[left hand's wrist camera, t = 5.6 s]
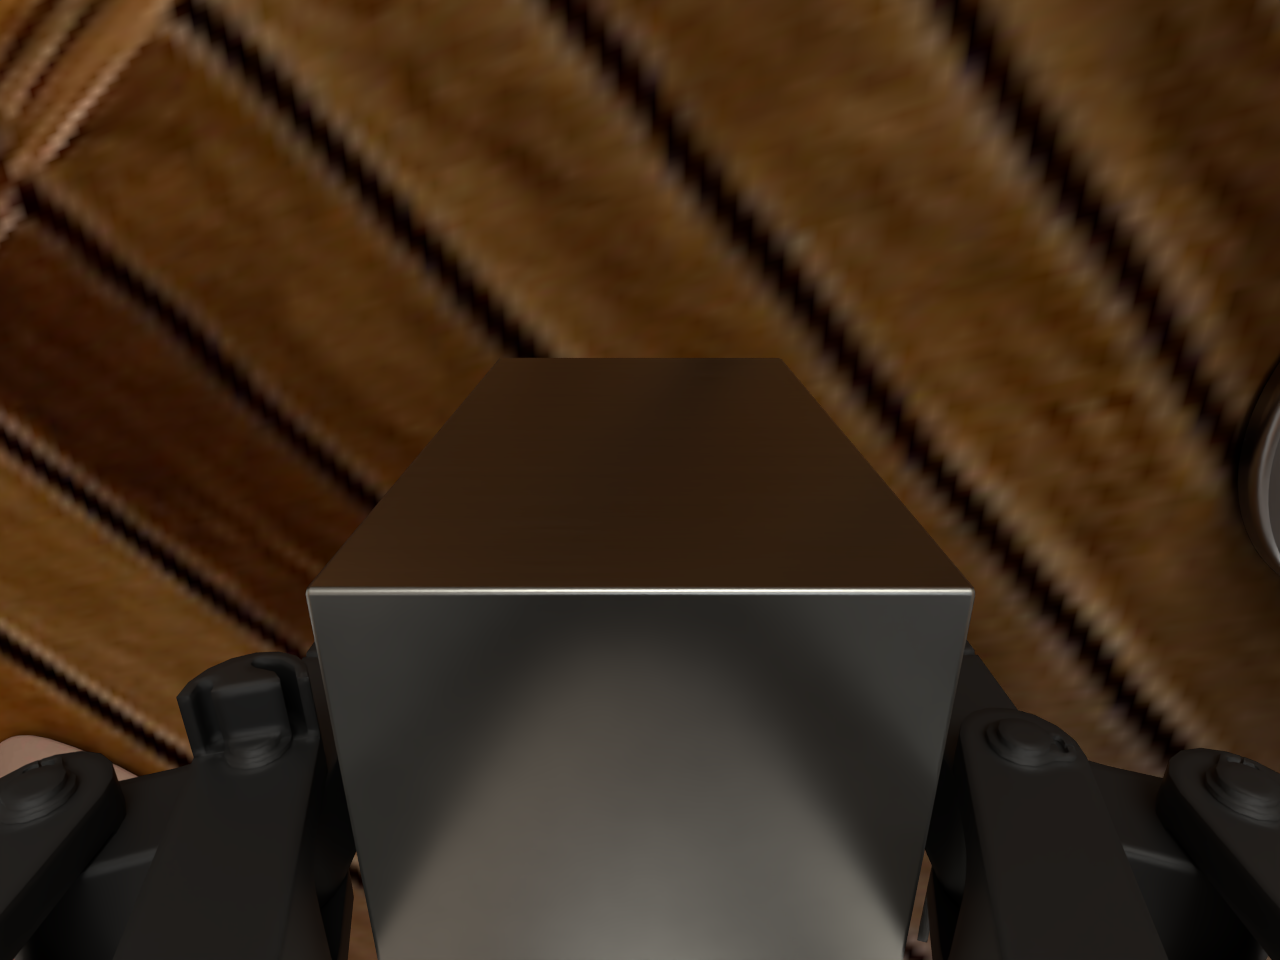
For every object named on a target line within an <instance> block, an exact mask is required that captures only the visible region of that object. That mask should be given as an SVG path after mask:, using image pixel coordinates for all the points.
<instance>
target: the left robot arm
mask: <svg viewBox="0 0 1280 960" xmlns="http://www.w3.org/2000/svg"><path fill="white" fill-rule="evenodd" d="M1238 500H1239V506H1240V511H1241V516H1242V519H1243V523H1244V526H1245V529H1246V532H1247V534H1248V536H1249V538H1250V540H1251V542H1252V544H1253V546H1254V547H1255V549H1256V550H1257V552H1258V553H1259V555H1260V556H1261V558H1262V559H1263V560H1264V561H1265V562H1266V563H1267V564H1268V566H1269V567H1270V568H1271V569H1272V570H1273V571H1275V572H1276V573H1277V574H1278V575H1279V576H1280V363H1279V364H1278V366H1277V367H1276V368H1275V370H1274V372H1273V374H1272V375H1271V377H1270V379H1269V380H1268V382H1267V384H1266V386H1265V387H1264V389H1263V391H1262V393H1261V395H1260V397H1259V400H1258V402H1257V404H1256V406H1255V408H1254V410H1253V413H1252V416H1251V418H1250V421H1249V424H1248V426H1247V430H1246V433H1245V437H1244V440H1243V444H1242V448H1241V454H1240V460H1239V468H1238ZM176 698H177V701H178V705H179V708H180V712H181V715H182V718H183V722H184V725H185V729H186V732H187V736H188V739H189V742H190V746H191V749H192V753H193V756H194V759H193V761H192V764H189V765H185V766H182V767H179V768H175V769H171V770H166V771H162V772H157V773H153V774H148V775H144V776H139V777H135V778H130V779H126V780H121V781H118V778H117V775H116V772H115V769H114V766H113V763H112V762H111V761H110V760H108V759H107V758H106V757H105V756H103V755H102V754H100V753H93V752H85V751H77V752H70V753H63V754H56V755H53V756H50V757H46V758H43V759H41V760H37V761H34V762H31V763H29V764H26V765H24V766H22V767H20V768H18V769H17V770H15V771H13V772H11V773H9V774H7V775H5V776H3V777H1V778H0V960H13V959H15V960H348V950H349V940H350V930H351V919H352V909H353V899H354V896H353V889H352V883H351V877H350V873H349V867H350V865H351V862H352V860H353V858H354V855H355V853H356V846H355V841H354V836H353V831H352V826H351V821H350V816H349V811H348V806H347V801H346V795H345V790H344V785H343V780H342V775H341V770H340V765H339V760H338V755H337V750H336V745H335V740H334V735H333V730H332V725H331V720H330V714H329V709H328V704H327V699H326V694H325V689H324V684H323V679H322V674H321V669H320V664H319V659H318V654H317V649H316V644H315V642H314V643H313V645H312V646H311V648H310V649H309V650H308V652H307V656H306V657H303V659H302V660H301V659H300V658H298V657H297V656H295V655H291V654H287V653H282V652H260V653H253V654H248V655H244V656H240V657H236V658H232V659H229V660H227V661H225V662H222V663H220V664H218V665H216V666H213V667H211V668H209V669H207V670H205V671H204V672H203V673H201V674H200V675H198V676H197V677H195V678H194V679H193V680H191V681H190V682H188V683H187V685H186V686H185V687H184V688H183V690H182V691H181V692H180V693H179V695H178V696H177V697H176ZM925 850H926V853H927V855H928V857H929V860H930V862H931V864H932V868H931V873H930V877H929V882H928V887H927V892H926V897H925V902H924V907H923V911H922V916H921V921H920V927H919V933H918V939H917V940H919V941H923V942H927V940H928V935H929V931H930V938H931V948H932V959H933V960H1266V959H1267V956H1269V957H1270V958H1271V959H1272V960H1280V774H1279V773H1277V772H1275V771H1273V770H1271V769H1269V768H1267V767H1265V766H1263V765H1262V764H1260V763H1258V762H1256V761H1253V760H1251V759H1248V758H1245V757H1241V756H1239V755H1235V754H1232V753H1229V752H1225V751H1218V750H1211V749H1204V748H1197V749H1189V750H1182V751H1180V752H1178V753H1177V754H1176V755H1175V756H1173V757H1172V758H1171V759H1170V760H1169V763H1168V765H1167V768H1166V771H1165V774H1164V777H1163V778H1160V777H1155V776H1151V775H1146V774H1141V773H1137V772H1132V771H1128V770H1123V769H1119V768H1114V767H1110V766H1106V765H1102V764H1099V763H1095V762H1092V761H1088V760H1087V757H1086V756H1085V754H1084V753H1083V751H1082V750H1081V748H1080V747H1079V745H1078V744H1077V742H1076V741H1075V740H1074V739H1073V738H1071V737H1070V736H1069V735H1068V734H1066V733H1065V732H1064V731H1063V730H1061V729H1060V728H1059V727H1058V726H1056V725H1054V724H1052V723H1050V722H1048V721H1046V720H1044V719H1042V718H1040V717H1038V716H1036V715H1033V714H1029V713H1026V712H1022V711H1018V710H1017V708H1016V707H1015V706H1014V704H1013V703H1012V701H1011V700H1010V699H1009V697H1008V696H1007V695H1006V693H1005V692H1004V690H1003V689H1002V688H1001V686H1000V685H999V684H998V682H997V681H996V679H995V678H994V677H993V675H992V674H991V673H990V671H989V670H988V668H987V667H986V666H985V664H984V663H983V662H982V660H981V659H980V657H979V656H978V655H975V653H974V649H973V648H972V646H971V645H970V644H969V642H968V641H967V640H966V643H965V648H964V653H963V658H962V663H961V668H960V673H959V678H958V684H957V689H956V694H955V699H954V704H953V709H952V714H951V719H950V724H949V729H948V734H947V739H946V744H945V749H944V754H943V759H942V764H941V769H940V774H939V779H938V784H937V789H936V795H935V800H934V805H933V810H932V815H931V820H930V825H929V830H928V835H927V840H926V845H925Z"/></svg>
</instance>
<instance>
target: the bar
mask: <svg viewBox="0 0 1280 960" xmlns="http://www.w3.org/2000/svg"><path fill="white" fill-rule="evenodd" d="M306 598H307V603H308V608H309V613H310V618H311V623H312V628H313V633H314V638H315V644H316V649H317V654H318V659H319V664H320V669H321V674H322V679H323V684H324V689H325V694H326V699H327V704H328V709H329V714H330V720H331V725H332V730H333V735H334V740H335V745H336V750H337V755H338V760H339V765H340V770H341V775H342V780H343V785H344V790H345V795H346V801H347V806H348V811H349V816H350V821H351V826H352V831H353V836H354V841H355V846H356V851H357V856H358V861H359V866H360V871H361V876H362V882H363V887H364V892H365V897H366V902H367V907H368V912H369V917H370V922H371V927H372V932H373V937H374V942H375V947H376V952H377V958H378V960H903V956H904V951H905V946H906V941H907V936H908V931H909V926H910V921H911V916H912V911H913V906H914V900H915V895H916V890H917V885H918V880H919V875H920V870H921V865H922V860H923V855H924V850H925V845H926V840H927V835H928V830H929V825H930V820H931V815H932V810H933V805H934V800H935V795H936V789H937V784H938V779H939V774H940V769H941V764H942V759H943V754H944V749H945V744H946V739H947V734H948V729H949V724H950V719H951V714H952V709H953V704H954V699H955V694H956V689H957V684H958V678H959V673H960V668H961V663H962V658H963V653H964V648H965V643H966V638H967V633H968V628H969V623H970V618H971V613H972V608H973V603H974V598H975V591H974V587H973V586H972V585H971V584H970V583H969V581H968V580H967V579H966V578H965V577H964V576H963V574H962V573H961V572H960V571H959V570H958V568H957V567H956V566H955V565H954V564H953V562H952V561H951V560H950V559H949V558H948V557H947V555H946V554H945V553H944V552H943V551H942V549H941V548H940V547H939V546H938V545H937V544H936V542H935V541H934V540H933V539H932V538H931V536H930V535H929V534H928V533H927V532H926V530H925V529H924V528H923V527H922V526H921V525H920V523H919V522H918V521H917V520H916V519H915V517H914V516H913V515H912V514H911V513H910V511H909V510H908V509H907V508H906V507H905V506H904V504H903V503H902V502H901V501H900V500H899V498H898V497H897V496H896V495H895V494H894V492H893V491H892V490H891V489H890V488H889V487H888V485H887V484H886V483H885V482H884V481H883V479H882V478H881V477H880V476H879V475H878V473H877V472H876V471H875V470H874V469H873V468H872V466H871V465H870V464H869V463H868V462H867V460H866V459H865V458H864V457H863V456H862V454H861V453H860V452H859V451H858V450H857V449H856V447H855V446H854V445H853V444H852V443H851V441H850V440H849V439H848V438H847V437H846V435H845V434H844V433H843V432H842V431H841V430H840V428H839V427H838V426H837V425H836V424H835V422H834V421H833V420H832V419H831V418H830V416H829V415H828V414H827V413H826V412H825V411H824V409H823V408H822V407H821V406H820V405H819V403H818V402H817V401H816V400H815V399H814V397H813V396H812V395H811V394H810V393H809V392H808V390H807V389H806V388H805V387H804V386H803V384H802V383H801V382H800V381H799V380H798V379H797V377H796V376H795V375H794V374H793V373H792V371H791V370H790V369H789V368H788V367H787V365H786V364H785V363H784V362H783V361H782V360H781V359H780V358H501V359H499V360H498V361H497V362H496V364H495V365H494V366H493V367H492V368H491V370H490V371H489V372H488V373H487V374H486V376H485V377H484V378H483V379H482V380H481V381H480V383H479V384H478V385H477V386H476V387H475V389H474V390H473V391H472V392H471V393H470V395H469V396H468V397H467V398H466V399H465V400H464V402H463V403H462V404H461V405H460V406H459V408H458V409H457V410H456V411H455V412H454V414H453V415H452V416H451V417H450V418H449V420H448V421H447V422H446V423H445V424H444V425H443V427H442V428H441V429H440V430H439V431H438V433H437V434H436V435H435V436H434V437H433V439H432V440H431V441H430V442H429V443H428V445H427V446H426V447H425V448H424V449H423V450H422V452H421V453H420V454H419V455H418V456H417V458H416V459H415V460H414V461H413V462H412V464H411V465H410V466H409V467H408V468H407V470H406V471H405V472H404V473H403V474H402V475H401V477H400V478H399V479H398V480H397V481H396V483H395V484H394V485H393V486H392V487H391V489H390V490H389V491H388V492H387V493H386V494H385V496H384V497H383V498H382V499H381V500H380V502H379V503H378V504H377V505H376V506H375V508H374V509H373V510H372V511H371V512H370V514H369V515H368V516H367V517H366V518H365V519H364V521H363V522H362V523H361V524H360V525H359V527H358V528H357V529H356V530H355V531H354V533H353V534H352V535H351V536H350V537H349V539H348V540H347V541H346V542H345V543H344V544H343V546H342V547H341V548H340V549H339V550H338V552H337V553H336V554H335V555H334V556H333V558H332V559H331V560H330V561H329V562H328V564H327V565H326V566H325V567H324V568H323V569H322V571H321V572H320V573H319V574H318V575H317V577H316V578H315V579H314V580H313V581H312V583H311V584H310V585H309V586H308V587H307V590H306Z"/></svg>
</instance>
